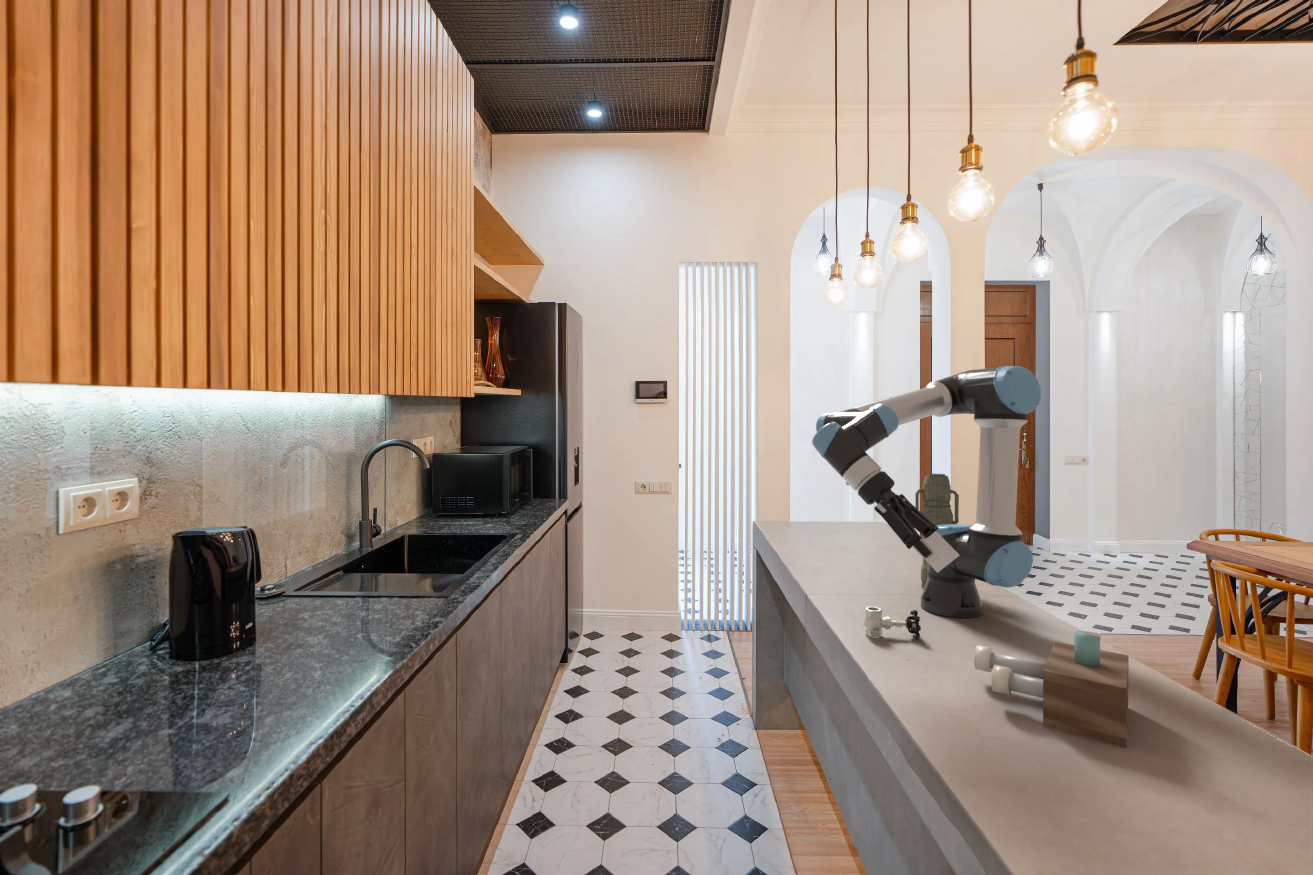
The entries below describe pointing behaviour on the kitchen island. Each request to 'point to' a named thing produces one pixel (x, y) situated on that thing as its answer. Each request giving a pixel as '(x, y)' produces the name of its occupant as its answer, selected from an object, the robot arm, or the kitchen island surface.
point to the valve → (889, 622)
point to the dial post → (1087, 648)
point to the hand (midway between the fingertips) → (948, 563)
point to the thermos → (936, 506)
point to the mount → (1086, 695)
